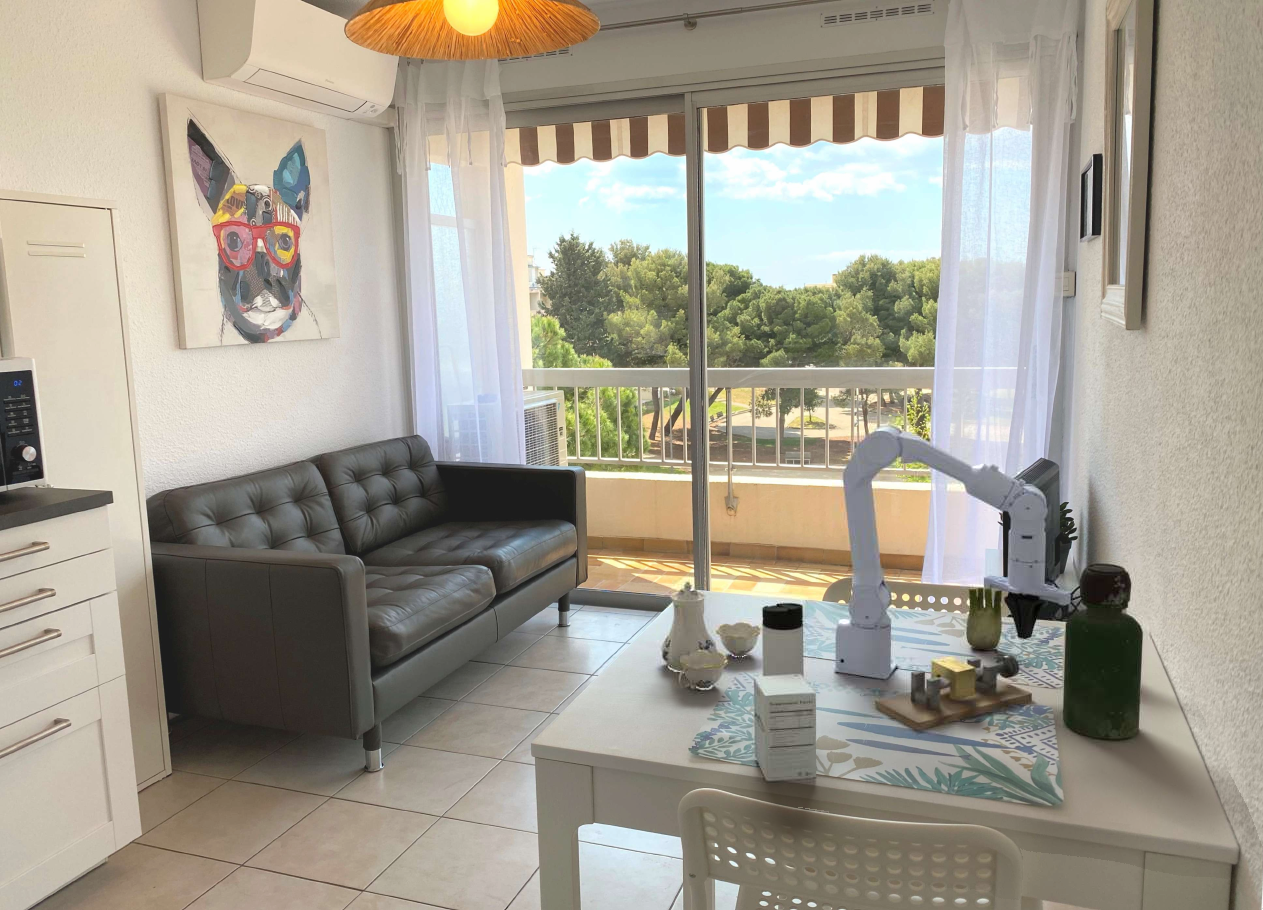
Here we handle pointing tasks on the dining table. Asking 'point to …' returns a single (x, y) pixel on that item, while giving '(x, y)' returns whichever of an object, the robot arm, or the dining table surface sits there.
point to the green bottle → (1103, 658)
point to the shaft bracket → (950, 699)
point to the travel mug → (782, 639)
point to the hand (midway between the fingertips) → (1024, 637)
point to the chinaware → (702, 640)
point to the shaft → (1005, 668)
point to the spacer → (955, 676)
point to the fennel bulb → (984, 619)
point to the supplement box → (785, 727)
